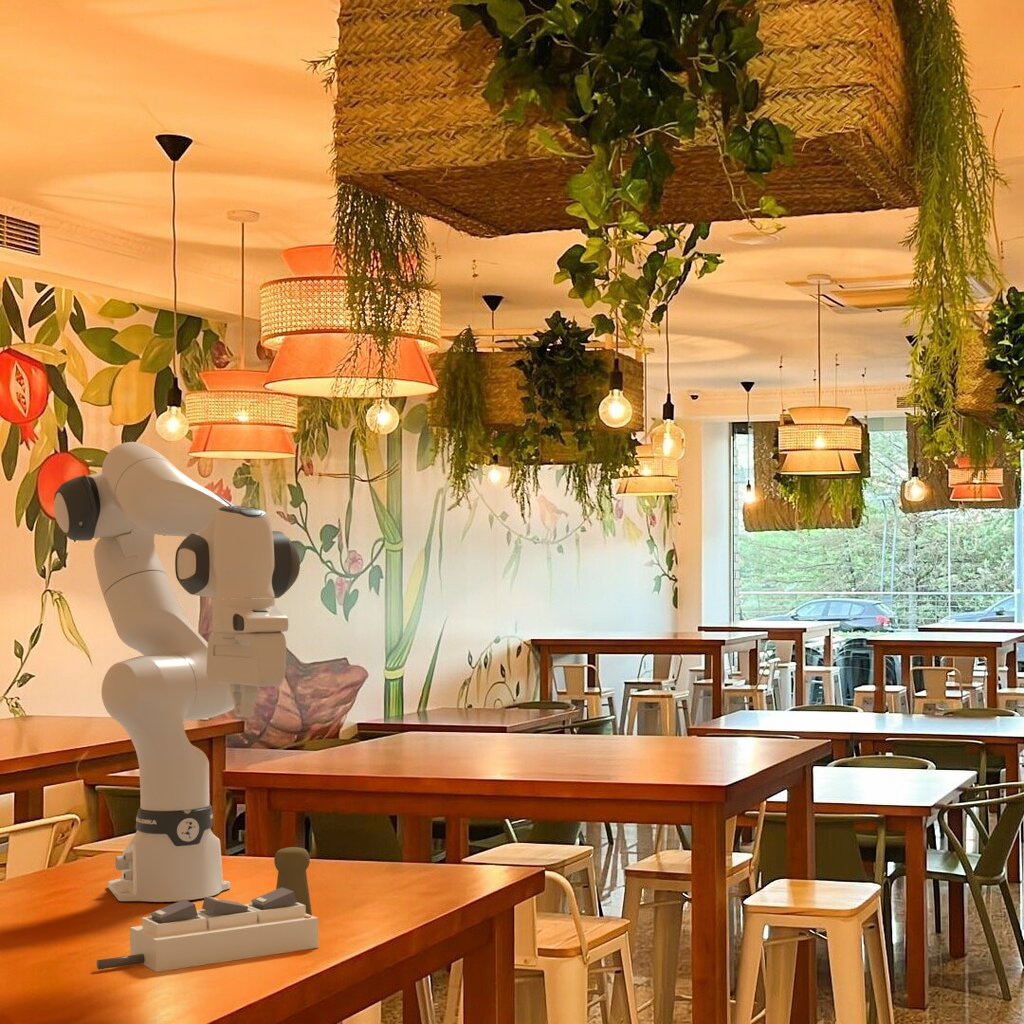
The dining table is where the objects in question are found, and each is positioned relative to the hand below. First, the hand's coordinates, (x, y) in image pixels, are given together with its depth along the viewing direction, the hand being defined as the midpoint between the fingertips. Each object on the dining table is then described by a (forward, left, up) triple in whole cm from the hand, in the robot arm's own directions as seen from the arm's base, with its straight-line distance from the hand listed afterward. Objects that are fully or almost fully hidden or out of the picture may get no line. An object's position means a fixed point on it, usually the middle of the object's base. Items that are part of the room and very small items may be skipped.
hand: (244, 716), depth 219 cm
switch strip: (+6, -8, -31) cm, 33 cm away
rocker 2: (+6, -6, -25) cm, 26 cm away
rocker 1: (+6, -13, -25) cm, 29 cm away
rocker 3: (+6, +2, -25) cm, 26 cm away
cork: (-6, +10, -31) cm, 33 cm away
